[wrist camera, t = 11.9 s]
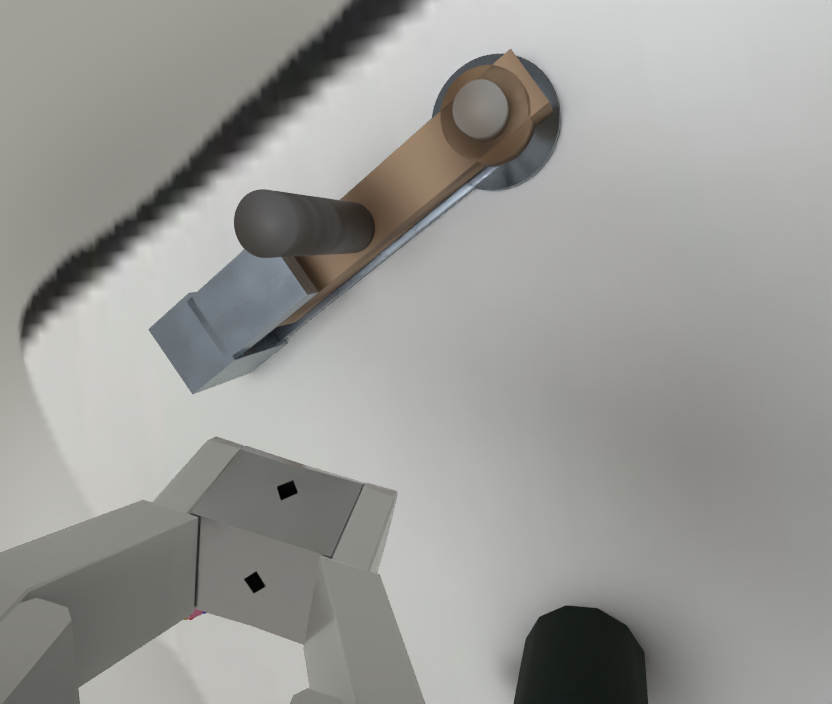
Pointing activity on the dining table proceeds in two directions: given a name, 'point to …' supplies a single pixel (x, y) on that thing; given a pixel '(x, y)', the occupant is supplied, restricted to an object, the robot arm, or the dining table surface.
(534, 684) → the wine bottle
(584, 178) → the dining table surface
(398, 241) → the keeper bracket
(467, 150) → the walnut link
